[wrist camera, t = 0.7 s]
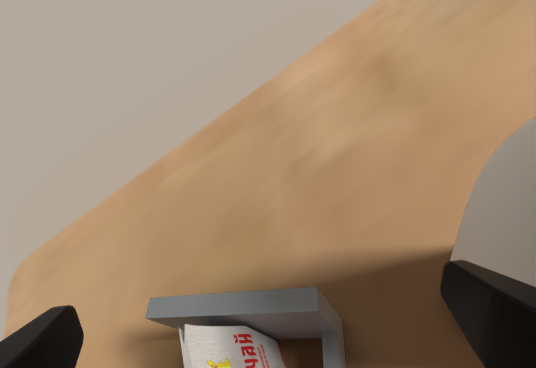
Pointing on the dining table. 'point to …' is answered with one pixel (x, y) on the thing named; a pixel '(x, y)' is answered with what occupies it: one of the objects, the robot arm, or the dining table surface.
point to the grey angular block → (228, 348)
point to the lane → (260, 315)
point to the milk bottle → (503, 211)
